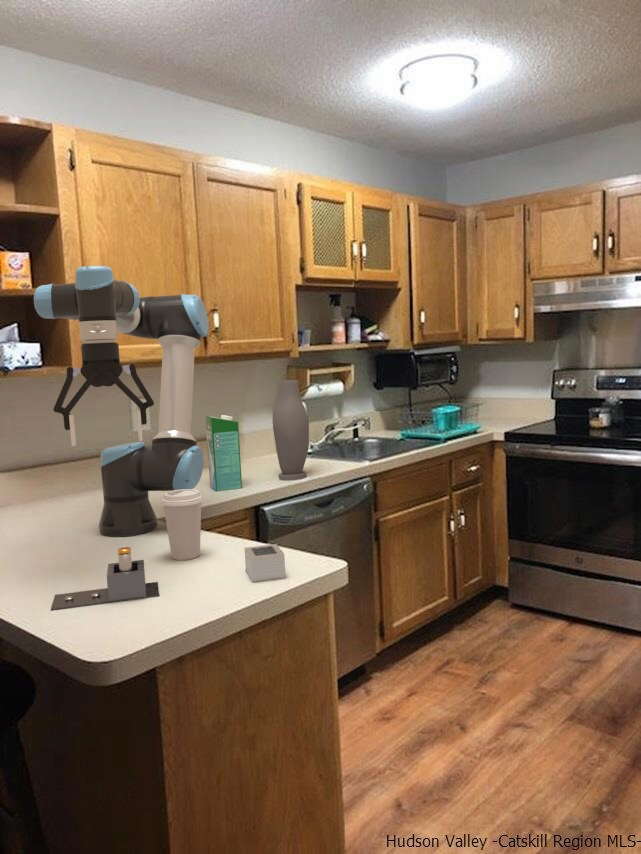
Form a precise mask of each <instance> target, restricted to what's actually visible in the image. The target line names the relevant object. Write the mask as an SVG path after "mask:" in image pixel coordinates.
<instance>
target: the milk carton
mask: <svg viewBox="0 0 641 854" xmlns="http://www.w3.org/2000/svg"><path fill="white" fill-rule="evenodd" d="M233 417H234V416H230V415H224V414H221V417H218V416H211V415H205V427H206V441H207V445H206V446H207V459H208V460H207V461H208V472H209V487H210V488H211V489H212V490H214V491H215V492H221V491H229V490H238V489H243V479H242V465H241V462H242V461H241V449H240V432H239V431H240V429H239V422H238V421H237V420H234V419H233Z"/></svg>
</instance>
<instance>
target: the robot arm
mask: <svg viewBox="0 0 641 854" xmlns="http://www.w3.org/2000/svg"><path fill="white" fill-rule="evenodd" d="M74 273H75V276H74V277H75V281H74V283H57V284H56V283H49V284H43V285H39V286H37V287H36V289H35V291H34V293H33V304H34V305H33V306H34V309H35V311H36V312H37V314H38V316H39V317H41V318H43V319H52V320H56V319H66V320H71V321H72V320H73V321H77V322H78V327H79V340H80V341H81V342H83V343H82V344H81V345H80V349H81V350H80V351H81V362H82V364H81V367H73V366H68V367H67V368H66V378H65V380H64V383H63V385H62V387H61V390H60V391H59V395H58V397H57V399H56V401H55V405H54V406H53V412H55V413H58V414H61V415H62V418H63V425H64V430H65V431H69V432H70V442H71V447H76V445H77V436H76V435H77V433H76V424H75V423H76V422H75V414H74V413H71V411H72V410H73V408H74V407H75V406H76V405H77V403H78V402H79V401H80V400H81V398H82V397H83V396H84V395H85V393H86V392H87V390H88V389H89V388H90V386H92V387H94V388H99V387H112V386H114V385H115V386H117V388H119V390H120V391H122V392H123V393H124V394H125V395H126V396H127V397H128V398H129V399H130V400H131V401H132V402H133V404H135V405H136V406H137V407H138V408H139V409H136V419H137V431H138V434H137V435H138V441H136V442H135V441H134V442H127V443H124V444H117V445H113V446H109V447H107V448H104V449H103V450H102V451H101V453H100V465H99V467H100V470H101V471H100V473H101V483H102V495H103V506H102V507H103V508H102V511H101V515H100V519H99V522H98V523H99V524H98V528H99V534H100V535H102V536H106V537H128V536H129V537H130V536H136V535H141V534H145V533H148V532H149V533H150V532H152V531H154V530H156V529H157V527H158V518H157V515H156V513H155V511H154V508H153V506H152V504H151V501H150V498H149V492H169V491H173V490H180V489H194V488H195V487H197V485H198V484H199V482H200V480H201V478H202V475H203V470H204V464H205V463H204V459H205V458H204V452H203V449H202V447H200V446H198V445H197V440H196V438H194V436H193V435H192V425H193V424H192V422H193V420H192V418H193V396H194V377H195V376H194V371H195V350H196V349H197V348H199V346H201V338H204V337H206V336H207V335H208V333H209V328H210V327H209V319H208V314H207V309H206V307H205V304H204V302H203V300H202V299H201V298H200V297H199V296H198V295H197V294H185V293H181V294H173V295H170V294H169V295H158V296H157V295H155V296H144V297H143V296H142V297H141V296H140V293H139V291H138V289H137V288H136V287H135V286H134V285H133V284H131V283H129V282H127V281H125V280H117V279H116V280H115V278H114V273H113V270H112V268H111V267H109V266H105V265H88V266H80V267H78V268H76V270H75V272H74ZM118 334H122V335H127V336H132V337H137V338H141V339H142V338H143V339H151V340H155V339H156V340H157V344H159V346H160V347H161V348H162V356H161V357H162V359H161V374H160V379H161V380H160V395H159V413H158V414H159V417H158V418H159V419H158V433H157V434H156V435H155V436H154V437H153V438H152V440H151V446H150V447H146V443H145V442H144V441H143V440H144V439H143V429H142V426H143V425H147V424H148V423H147V421H148V420H147V409H148V408H151V407H152V406H154V405H155V402H154V399H153V398H152V396H151V395H150V393H149V392H148V390H147V388H146V387H145V385H144V383H143V382H142V380H141V378H140V377H139V374H138V372H137V369H136V365H135V363H130V364H124V365H122V364H121V361H120V347H119V344H118V342H116V341H117V340H118V339H119V337H118V336H119V335H118ZM123 371H124V372H125V373H126V374H127V375H129V376H131V378H132V379H133V381H134V383H135V385H136V386H137V388H138V390H139V392H140V393H141V395H142V397H143V398H144V400H145V402H143V401H142V400H141V399H140V398H139V397H138V396H137V395H136V394H135V393H134V392H133V391H132V390H131V389H130V388H129V387H128V386H127V384H125V383H124V382H123V381H122V380H121V379H120V376H121V375H122V373H123ZM79 374H81V376H83V378H85V381H84V383H83V384H82V385H81V386H80V388H79V389H78V391H77V392H76V393H75V394H74V395H73V397H72V399H70V401H69V402H68V403H67V405H66V407H64V406H63V405H64V403H65V400H66V398H67V395H68V392H69V391H70V388H71V386H72V383H73V380H74V379H75V378H77V377H78V375H79Z"/></svg>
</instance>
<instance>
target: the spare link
mask: <svg viewBox="0 0 641 854" xmlns="http://www.w3.org/2000/svg"><path fill="white" fill-rule="evenodd" d="M285 561H286V560H285V553H284V552H283V550H282V549H281V548H280V546H279V545H278V544H277V543H274V544H272V543H271V544H265V545H256V546H249V547H244V563H245V572H246V574H247V573H248V574H247V575H249V576H248V577H249V579H250V581H251V583H258V582H263V581H270V580H271V581H272V580H279V579H286V562H285ZM257 581H258V582H257Z"/></svg>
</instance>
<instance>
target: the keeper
mask: <svg viewBox="0 0 641 854" xmlns="http://www.w3.org/2000/svg"><path fill="white" fill-rule="evenodd" d="M117 553H118V554H117V556H118V557H117V558H118V563H119V570H120V573H121V572H129V571H132V562H131V561H132V551H131V547H128V546H126V547H120V548H118V549H117ZM155 597H160V590H159V582H158V581H155V582H152V581H151V582H146V596H145V597H137V598H130V599H122V600H114V601H109V598H108V587H105V588H97V589H89V590H82V591H76V592H75V591H74V592H68V593H67V592H66V593H58V594H54V598H53V601H52V604H51V606H50V611H58V610H65V609H72V608H81V607H86V606H87V607H88V606H94V605H95V606H96V605H103V604H110V603H118V602H125V601H133V600H142V599H148V598H155Z"/></svg>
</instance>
